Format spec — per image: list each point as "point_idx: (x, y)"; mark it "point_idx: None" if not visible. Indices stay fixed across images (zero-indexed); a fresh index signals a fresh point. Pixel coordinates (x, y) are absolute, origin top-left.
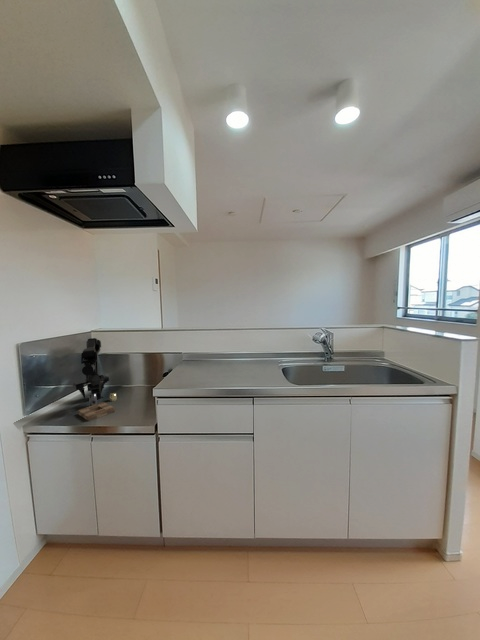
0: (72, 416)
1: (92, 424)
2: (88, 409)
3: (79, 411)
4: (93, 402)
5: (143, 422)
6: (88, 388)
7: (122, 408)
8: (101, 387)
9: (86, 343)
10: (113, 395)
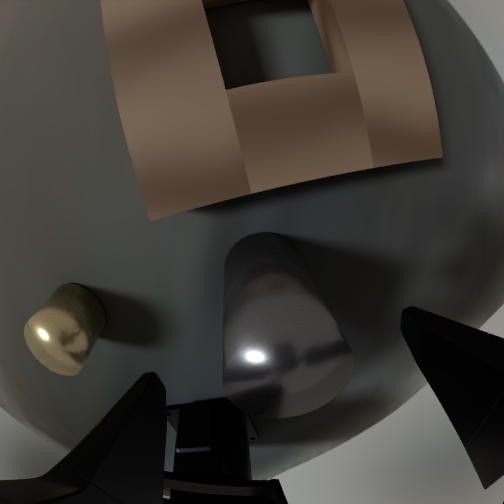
0: (446, 157)
1: None
2: (362, 77)
3: (435, 117)
4: (275, 257)
5: None
6: (278, 499)
7: (42, 39)
8: (102, 451)
9: None
10: (43, 315)
